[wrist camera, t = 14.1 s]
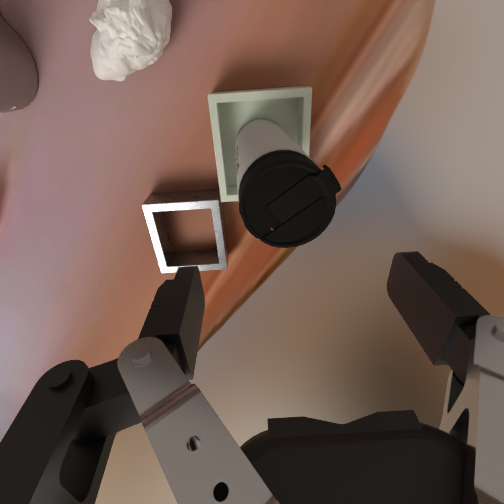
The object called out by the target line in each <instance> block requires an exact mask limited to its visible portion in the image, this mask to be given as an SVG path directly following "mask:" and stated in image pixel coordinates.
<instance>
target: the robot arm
mask: <svg viewBox="0 0 504 504" xmlns="http://www.w3.org/2000/svg"><path fill="white" fill-rule="evenodd" d="M37 86H38V75H37V71H36V66H35V63H34V61H33V58H32V56H31V53H30V52H29V50H28V48H27V46H26V45H25V43H24V42H23V40H22V39H21V38H20V37H19V35H18V34H17V33H16V32H15V31H14V30H13V29H12V28H11V27H10V26H9V25H8V24H7V23H6V22H5V21H4V20H3V18H2V17H1V15H0V113H4V112H9V111H13V110H18V109H22V108H24V107H26V106H27V105H28V104H29V103H30V102H31V101H32V100H33V98H34V96H35V94H36V91H37ZM387 291H388V295H389V297H390V299H391V300H392V302H393V304H394V305H395V307H396V308H397V310H398V311H399V313H400V314H401V316H402V317H403V319H404V320H405V322H406V323H407V325H408V326H409V328H410V330H411V331H412V332H413V334H414V336H415V337H416V339H417V340H418V342H419V343H420V345H421V346H422V348H423V349H424V351H425V352H426V354H427V355H428V357H429V359H430V360H431V362H432V363H433V365H449V366H450V367H451V369H452V370H451V372H450V374H449V378H448V384H447V391H446V398H445V404H444V411H443V417H442V422H441V425H440V428H439V429H438V428H436V427H433V426H430V425H427V424H424V423H420V422H419V420H418V418H417V416H416V414H415V413H414V411H413V410H404V411H387V412H376V413H374V414H371V415H368V416H365V417H363V418H360V419H357V420H355V421H352V422H350V423H347V424H336V423H332V422H327V421H322V420H317V419H312V418H307V417H288V418H272V419H268V430H266V431H264V432H261V433H259V434H257V435H256V436H253V437H252V438H251V439H249V440H248V441H246V442H245V443H244V444H243V445H242V446H241V447H239V446H238V444H237V443H236V441H235V440H234V438H233V437H232V435H231V434H230V433H229V431H228V430H227V428H226V427H225V426H224V424H223V423H222V421H221V420H220V418H219V417H218V415H217V414H216V412H215V411H214V409H213V408H212V407H211V405H210V404H209V402H208V401H207V399H206V398H205V396H204V395H203V394H202V392H201V391H200V389H199V388H198V387H197V386H196V385H195V384H191V383H190V382H189V380H192V379H193V375H194V369H195V363H196V357H197V351H198V345H199V339H200V333H201V327H202V320H203V314H204V308H205V299H204V292H203V287H202V282H201V277H200V272H199V268H198V266H184V267H178V270H177V273H176V275H175V278H174V279H173V280H166V281H165V282H164V283H163V284H162V285H161V286H160V287H159V288H158V290H157V292H156V295H155V297H154V300H153V302H152V305H151V308H150V310H149V312H148V315H147V318H146V320H145V323H144V325H143V328H142V330H141V333H140V335H139V338H138V339H137V340H135V341H133V342H132V343H130V344H129V345H128V346H126V347H125V348H124V349H123V351H122V352H121V354H120V355H119V358H117V359H115V360H112V361H109V362H106V363H103V364H100V365H97V366H94V367H91V368H88V367H87V365H86V364H85V363H84V362H83V361H80V360H70V361H66V362H63V363H60V364H58V365H56V366H54V367H53V368H51V369H50V370H48V371H47V372H46V373H45V374H44V375H43V376H42V377H41V378H40V379H39V380H38V382H37V383H36V385H35V386H34V388H33V390H32V391H31V393H30V395H29V396H28V398H27V399H26V401H25V403H24V404H23V406H22V408H21V409H20V411H19V413H18V414H17V416H16V418H15V419H14V421H13V423H12V424H11V426H10V428H9V429H8V431H7V433H6V434H5V436H4V437H3V439H2V441H1V442H0V504H95V501H96V498H97V494H98V491H99V488H100V484H101V481H102V478H103V474H104V471H105V468H106V464H107V461H108V458H109V454H110V451H111V447H112V444H113V441H114V437H115V434H116V432H118V431H121V430H123V429H126V428H128V427H131V426H133V425H136V424H138V423H141V422H142V425H143V427H144V429H145V431H146V434H147V436H148V438H149V440H150V443H151V445H152V447H153V449H154V452H155V454H156V456H157V458H158V461H159V463H160V465H161V467H162V470H163V472H164V474H165V476H166V479H167V481H168V483H169V485H170V488H171V490H172V492H173V494H174V496H175V499H176V501H177V503H178V504H504V317H502V316H497V315H490V314H489V313H488V312H487V311H486V310H485V309H484V308H483V307H482V306H481V305H480V304H479V303H478V302H477V301H476V300H475V299H474V298H473V297H472V296H471V295H470V294H469V293H468V292H467V291H466V290H465V289H462V286H461V285H460V284H459V283H458V282H457V281H454V278H452V277H451V275H450V274H448V273H447V272H446V271H445V270H444V269H442V268H440V267H439V266H437V265H435V264H433V263H429V262H428V261H427V260H426V259H425V258H424V257H423V256H422V255H421V254H420V253H419V252H417V251H416V252H400V253H396V254H395V255H394V258H393V261H392V265H391V269H390V273H389V277H388V281H387Z"/></svg>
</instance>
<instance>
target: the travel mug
mask: <svg viewBox="0 0 504 504" xmlns="http://www.w3.org/2000/svg"><path fill="white" fill-rule="evenodd" d="M235 157H236V175H237V192H238V201H239V212H240V214H241V217H242V219H243V222H244V224H245V227H246V228H247V229H248V231H249V232H250V233H251V234H252V235H253V236H255V237H256V238H258V239H261V241H262V242H264V243H266V244H268V245H270V246H274V247H279V248H289V247H296V246H300V245H303V244H306V243H307V242H310V241H312V240H313V239H315V238H316V237H318V236H319V235H320V234H321V233H322V232H323V231H324V230H325V229H326V228H327V226H328V225H329V223H330V222H331V220H332V218H333V216H334V213H335V208H336V195H335V194H336V193H338V192H339V191H340V190H341V187H340V184H339V182H338V180H337V179H336V177H335V175H334V174H333V172H332V171H331V169H330V168H329V167H328V166H326V165H323V168H324V170H323V171H322V170H321V169H319V168H318V166H317V165H316V164H315V162H314V161H313V160H312V159H311V158H310V157H309V156H308V155H307V154H306V153H305V152H304V151H303V150H302V149H301V148H300V147H299V146H298V145H297V144H296V143H295V142H294V141H293V140H292V139H291V138H290V137H289V136H288V135H287V134H286V133H285V131H284V130H283V129H282V128H281V127H280V126H279V125H278V124H276V123H275V122H273V121H271V120H269V119H265V118H257V119H253V120H251V121H249V122H247V123H246V124H245V125H244V126H243V127H242V128H241V129H240V130H239V132H238V134H237V137H236V140H235Z"/></svg>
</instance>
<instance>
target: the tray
mask: <svg viewBox="0 0 504 504" xmlns="http://www.w3.org/2000/svg"><path fill="white" fill-rule="evenodd" d="M208 102H209V110H210V118H211V126H212V134H213V142H214V150H215V158H216V165H217V173H218V181H219V189H220V197H221V202H232V201H238V192H237V175H236V157H235V140H236V137H237V134H238V132H239V130H240V129H241V128H242V127H243V126H244V125H245V124H246V123H247V122H249V121H251V120H253V119H257V118H265V119H269V120H271V121H273V122H275V123H276V124H278V125H279V126H280V127H281V128H282V129H283V130H284V131H285V133H286V134H287V135H288V136H289V137H290V138H291V139H292V140H293V141H294V142H295V143H296V144H297V145H298V146H299V147H300V148H301V149H302V150H303V151H304V152H305V153H306V154H307V155H308V156H309V146H310V125H311V103H312V87H308V86H296V87H282V88H267V89H253V90H239V91H225V92H212V93H210V94H208Z"/></svg>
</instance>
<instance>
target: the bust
mask: <svg viewBox="0 0 504 504" xmlns="http://www.w3.org/2000/svg"><path fill="white" fill-rule="evenodd" d="M89 20H90V22H91V23H92V24H93V25H95V26H96V28H97V30H96V31H95V33H94V35H93V37H92V46H91V57H92V62H93V70H94V72H95V74H96V76H97V77H98V78H99V79H102V80H115V81H123V80H125V78H126V77H127V76H128V75H129V74H132V73H134V72H135V71H136V70H143V69H145V68H146V67H148V66H149V65H151V64H154V63H155V62H156V61H157V60H158V59H159V58H160V57H161V56H162V55H163V50H164V48H165V46H166V45H167V44H168V43H169V41H170V35H171V20H172V6H171V4H170V2H169V0H98V3H97V10H96V11H95V12H93V14H92V17H91V18H90V19H89Z"/></svg>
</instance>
